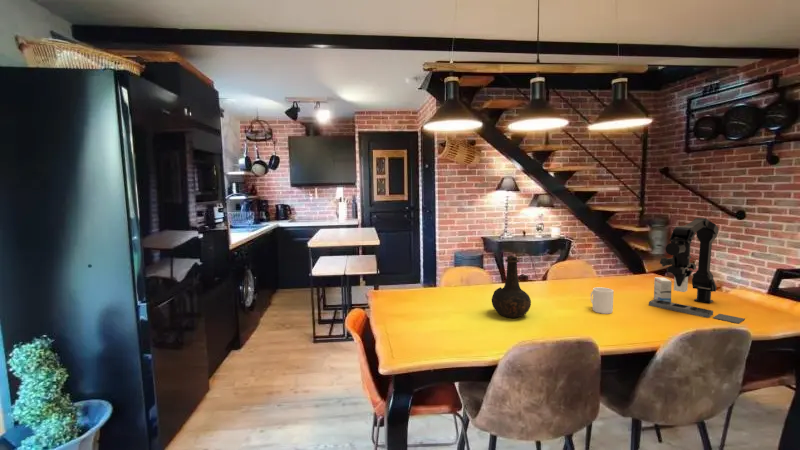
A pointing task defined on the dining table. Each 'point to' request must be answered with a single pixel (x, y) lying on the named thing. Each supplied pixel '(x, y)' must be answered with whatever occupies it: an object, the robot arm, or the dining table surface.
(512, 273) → the glass bottle
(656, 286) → the ink box
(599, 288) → the mug
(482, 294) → the dining table surface
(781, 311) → the dining table surface
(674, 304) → the grey metal frame
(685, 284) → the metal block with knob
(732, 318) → the mat
